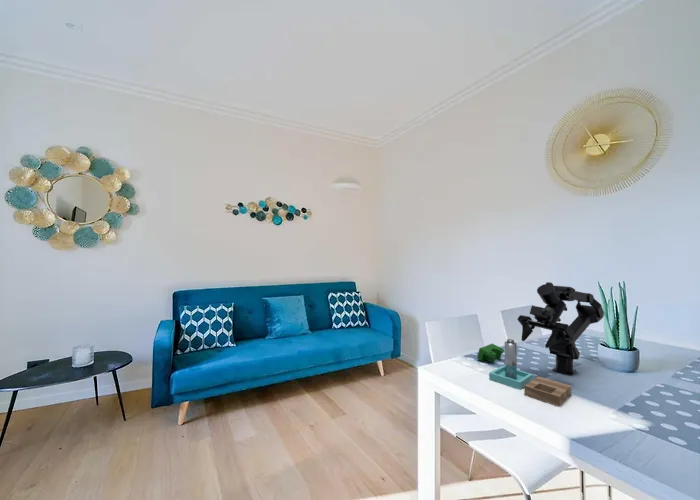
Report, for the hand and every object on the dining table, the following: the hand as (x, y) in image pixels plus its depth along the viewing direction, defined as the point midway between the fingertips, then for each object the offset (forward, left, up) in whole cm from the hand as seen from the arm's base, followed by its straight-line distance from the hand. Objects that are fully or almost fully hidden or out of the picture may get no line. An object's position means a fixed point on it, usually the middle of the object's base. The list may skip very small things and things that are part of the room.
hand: (533, 343), depth 112 cm
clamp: (-8, -20, -14) cm, 26 cm away
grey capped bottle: (+7, -6, -13) cm, 15 cm away
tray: (+7, -6, -14) cm, 16 cm away
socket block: (+9, +7, -14) cm, 18 cm away
